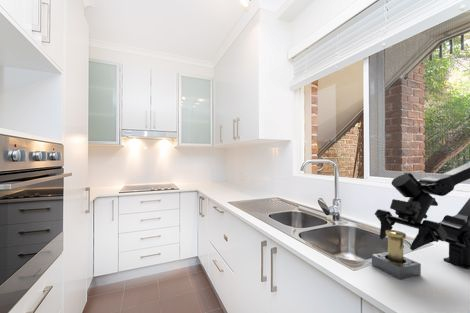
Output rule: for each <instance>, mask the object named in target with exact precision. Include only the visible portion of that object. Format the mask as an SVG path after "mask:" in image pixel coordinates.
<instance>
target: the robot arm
mask: <svg viewBox="0 0 470 313" xmlns="http://www.w3.org/2000/svg"><path fill="white" fill-rule="evenodd" d="M468 180H470V160H468V162H466V163H465V164H462V165H460V166H458V167H457V166H456V167H455V168H453V169H450V170H448V171H446V172H444V173H441V174H436V175H429V176H425V177H421V178H420V179H419V180H418V179H416V178H415V177H414V175H413V174H412V173H411V172H404V173H403V174H401V175H399V176H397V177H394V178H393V179H392V181H391V185H392V187H394V188H395V189H396V191H398V193H400V195H402V197H404V198H408V200H407V201H405V200H399V199H394V198H393V199H392V200H391V204H390V206H389V209H391V210H394V211H395V212H394V213H395V216H394V215H392V213H391V212H390V211H389V210H386V209H379V208H378V209H377V210H376V211H375V212H374V215H375V217H376V218H377V219H378V220H379V222H380V231H379V239H380V240H384V239H385V238H386V237H387V235H386V230H393V228H394V227H393V226H394V225H395V224H399V225H403V226H407V227H410V228H413V229H416V230H417V229H418V231H417V232H418V233H417V234H416V235H415V238H414V239H413V241H412V243H411V245H410V247H409V249H410V251H415V250H417V249H420V248H421V247H423V246H425V245H428V244H431V243H433V242H436V243H438V242H439V241H440V242H445V243H448V257H444V258H443V261H445V262H448V263H451V264H453V265H456V266H458V267H461V268H464V269H470V197H469V198H468V199H467V201H466V202H465V203H464V204H463V206H462V207H461V208H460V209H459V211H458V212H457V214H456V215H448V214H446V215H444V217H443V218H442V220H441V221H438V222H437V221H432V220H429V219H427V218H428V215H427V213H428V211H429V209H430V207H431V206H432V207H433V206H436V207H437V206H439V204H438V201H436V198H435V197H433V196H432V195H434V196H440V197H444V196H446V195H448V194H449V193H451V192H452V191H454V188H455V186H456V185H459V184H461V183H463V182H465V181H468ZM396 215H397V216H396Z"/></svg>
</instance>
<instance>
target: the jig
mask: <svg viewBox="0 0 470 313" xmlns="http://www.w3.org/2000/svg"><path fill="white" fill-rule="evenodd" d="M371 266H373V267H375V268H376V269H378V270H381V271H382V272H384V273H387V275H390V276H392V277H393V278H396V279H397V280H399V281H401V280H405V279H409V278H414V277H419V276H421V274H422V272H421V271H422V270H421V269H422V264H421V263H420V262H419V261H415V260H413V259H411V258H408V257H405V256H404V255H403V263H396V262H392V261H390V260H388V251H386V252H380V253H379V252H378V253H373V254H371Z"/></svg>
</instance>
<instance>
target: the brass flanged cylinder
mask: <svg viewBox="0 0 470 313" xmlns="http://www.w3.org/2000/svg"><path fill="white" fill-rule="evenodd" d="M386 237H387V252H388V260H390V261H392V262H396V263H403V256H404V239H406V238H407V234H406V233H405V232H403V231H399V230H394V229H391V230H386Z"/></svg>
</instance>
